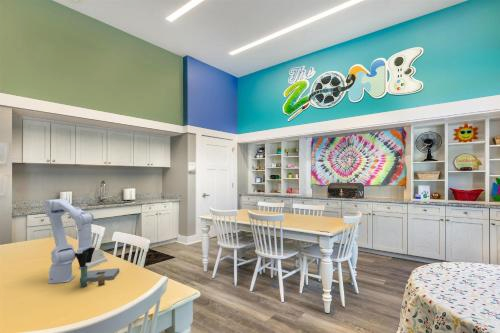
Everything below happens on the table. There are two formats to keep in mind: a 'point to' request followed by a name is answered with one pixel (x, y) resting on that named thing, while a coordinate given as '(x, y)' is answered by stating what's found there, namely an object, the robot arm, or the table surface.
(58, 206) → the robot arm
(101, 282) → the short pin
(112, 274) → the hole plate
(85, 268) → the long pin
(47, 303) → the table surface
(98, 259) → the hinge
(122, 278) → the table surface
